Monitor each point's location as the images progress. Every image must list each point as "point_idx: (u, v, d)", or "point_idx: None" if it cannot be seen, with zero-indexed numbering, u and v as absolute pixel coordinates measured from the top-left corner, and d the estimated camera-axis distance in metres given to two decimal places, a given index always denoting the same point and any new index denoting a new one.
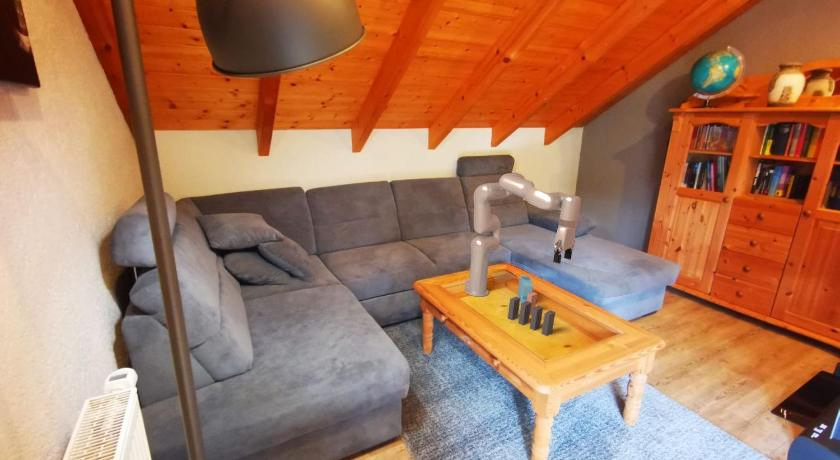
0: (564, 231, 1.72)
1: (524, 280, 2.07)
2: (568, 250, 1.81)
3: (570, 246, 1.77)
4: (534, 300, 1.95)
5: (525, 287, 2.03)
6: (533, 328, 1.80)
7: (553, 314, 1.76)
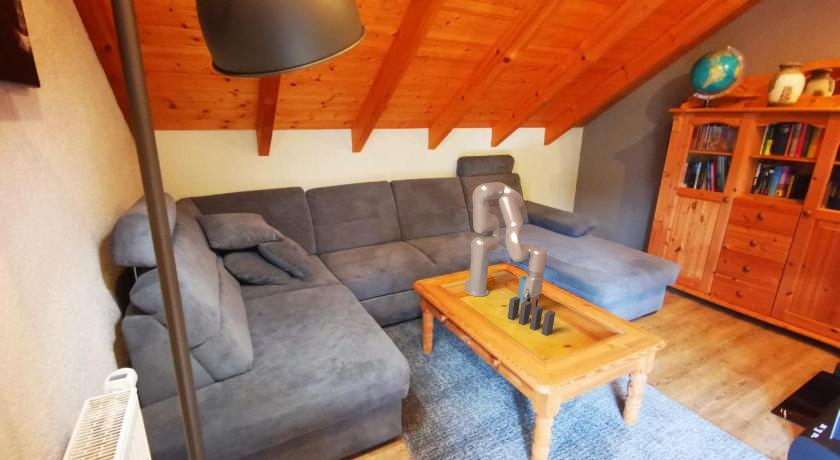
0: (531, 281, 1.89)
1: (524, 280, 2.07)
2: None
3: (538, 294, 1.94)
4: (534, 300, 1.95)
5: None
6: (533, 328, 1.80)
7: (553, 314, 1.76)
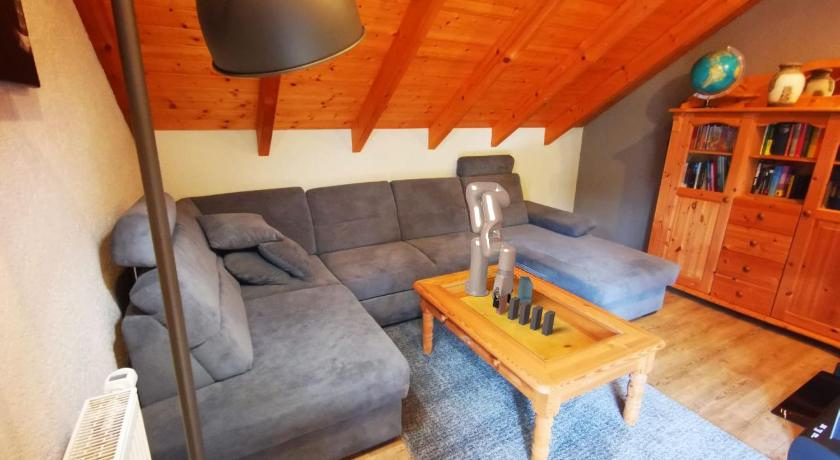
0: (500, 279, 1.87)
1: (524, 280, 2.07)
2: (508, 295, 1.96)
3: (508, 292, 1.92)
4: (504, 300, 1.93)
5: (525, 287, 2.03)
6: (533, 328, 1.80)
7: (553, 314, 1.76)
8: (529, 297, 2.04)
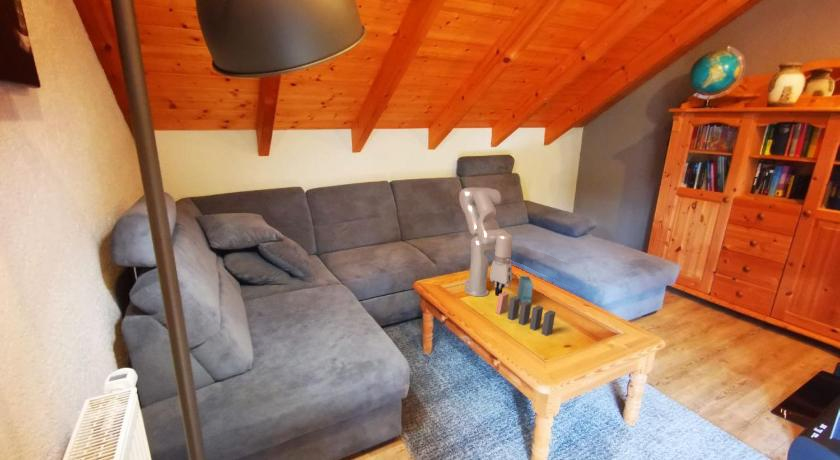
0: None
1: (524, 280, 2.07)
2: None
3: (499, 281, 1.91)
4: (505, 300, 1.93)
5: (525, 287, 2.03)
6: (533, 328, 1.80)
7: (553, 314, 1.76)
8: (529, 297, 2.04)
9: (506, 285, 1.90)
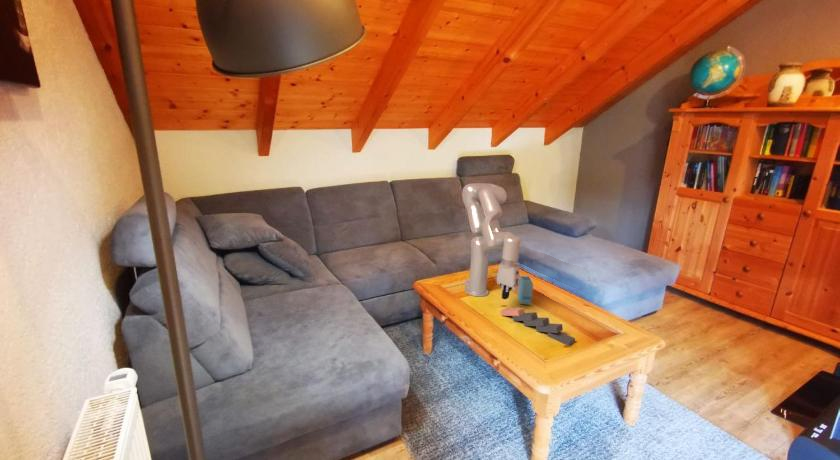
0: None
1: (524, 280, 2.07)
2: None
3: (506, 284, 1.88)
4: None
5: (525, 287, 2.03)
6: (537, 330, 1.78)
7: None
8: (529, 297, 2.04)
9: (513, 288, 1.87)
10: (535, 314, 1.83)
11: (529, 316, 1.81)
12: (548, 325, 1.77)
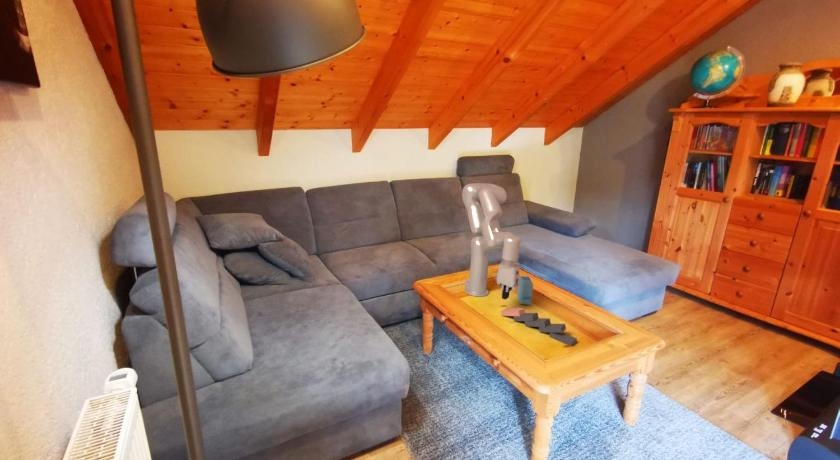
0: None
1: (524, 280, 2.07)
2: None
3: (506, 284, 1.88)
4: None
5: (525, 287, 2.03)
6: (541, 331, 1.78)
7: None
8: (529, 297, 2.04)
9: (513, 288, 1.87)
10: (536, 314, 1.83)
11: (530, 316, 1.81)
12: (551, 325, 1.76)
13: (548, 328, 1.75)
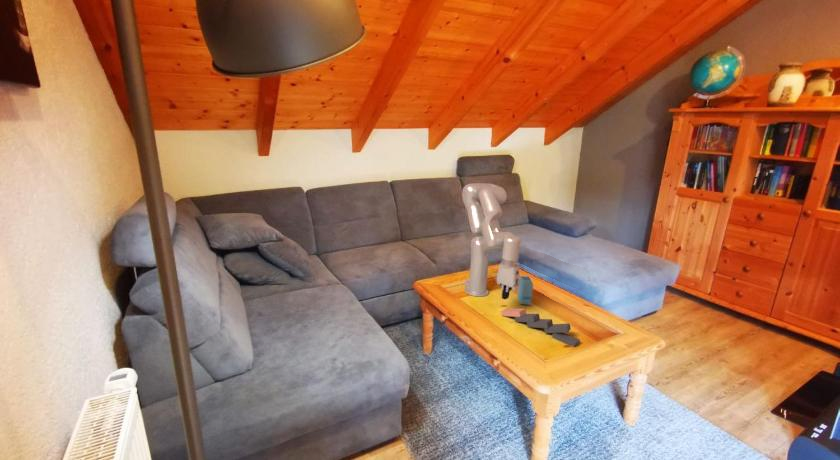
0: None
1: (524, 280, 2.07)
2: None
3: (506, 284, 1.88)
4: None
5: (525, 287, 2.03)
6: (546, 331, 1.77)
7: None
8: (529, 297, 2.04)
9: (513, 288, 1.87)
10: (537, 315, 1.82)
11: (531, 317, 1.80)
12: (556, 325, 1.76)
13: (554, 328, 1.75)
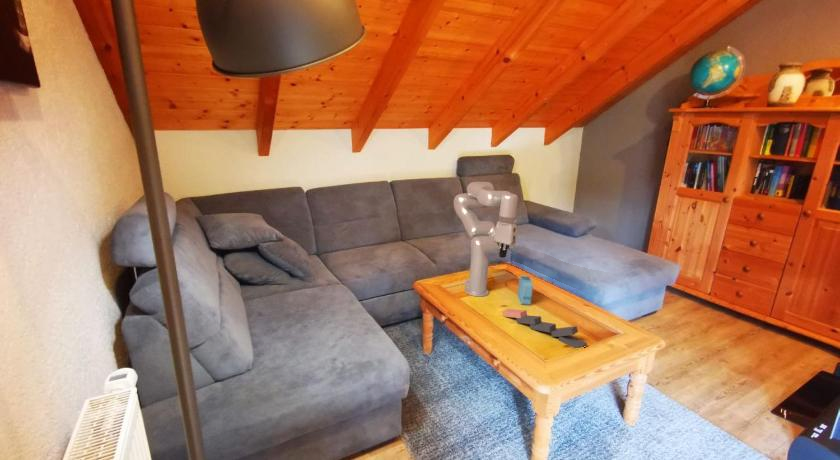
0: None
1: (524, 280, 2.07)
2: (503, 247, 1.91)
3: (504, 241, 1.88)
4: None
5: (525, 287, 2.03)
6: (553, 335, 1.74)
7: None
8: (529, 297, 2.04)
9: (511, 246, 1.88)
10: (539, 318, 1.80)
11: (532, 320, 1.79)
12: (563, 329, 1.73)
13: (559, 332, 1.72)
